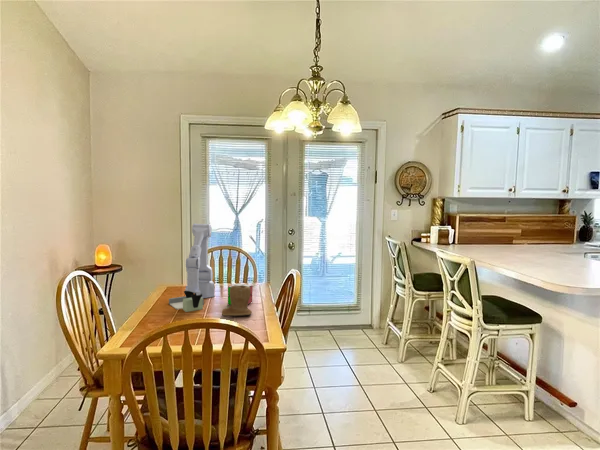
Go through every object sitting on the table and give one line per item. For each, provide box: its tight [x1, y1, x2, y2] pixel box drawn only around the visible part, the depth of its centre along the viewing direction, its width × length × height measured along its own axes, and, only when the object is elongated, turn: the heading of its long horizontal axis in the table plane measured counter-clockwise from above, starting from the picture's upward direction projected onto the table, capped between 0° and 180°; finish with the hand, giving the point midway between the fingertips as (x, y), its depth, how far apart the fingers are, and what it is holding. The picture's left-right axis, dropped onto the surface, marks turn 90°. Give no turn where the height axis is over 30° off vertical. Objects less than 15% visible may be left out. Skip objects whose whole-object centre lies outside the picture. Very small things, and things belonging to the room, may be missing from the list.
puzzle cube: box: [227, 282, 253, 306], centre depth 216 cm, size 10×10×10 cm
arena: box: [168, 295, 205, 310], centre depth 212 cm, size 15×12×3 cm
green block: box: [182, 297, 204, 313], centre depth 204 cm, size 9×4×6 cm, turn 128°
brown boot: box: [221, 284, 253, 317], centre depth 197 cm, size 15×12×15 cm
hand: (192, 305), depth 204 cm, fingers open, 7 cm apart
